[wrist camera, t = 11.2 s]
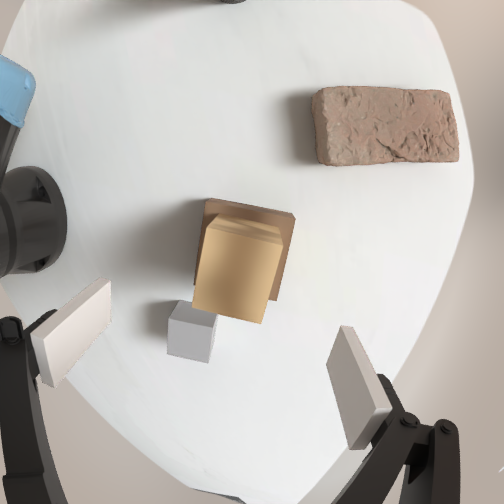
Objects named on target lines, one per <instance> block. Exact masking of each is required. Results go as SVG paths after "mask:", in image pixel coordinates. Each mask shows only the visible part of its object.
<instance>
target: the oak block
mask: <svg viewBox="0 0 504 504" xmlns="http://www.w3.org/2000/svg"><path fill="white" fill-rule="evenodd" d="M282 249H283V242H282V238H281V234H280V230H279V227H275V226H271V225H267V224H262V223H258V222H254V221H250V220H246V219H242V218H238V217H233V216H229V215H225V214H221V213H219V214H218V216H217V217H216V218H215V219H214V220H213V221H212V222H211V223H210V224H209V225H208V226H207V228H206V233H205V238H204V243H203V248H202V253H201V258H200V263H199V268H198V274H197V279H196V285H195V290H194V296H193V301H192V308H196V309H200V310H204V311H208V312H212V313H216V314H220V315H224V316H228V317H232V318H237V319H241V320H245V321H250V322H254V323H258V324H261V322H262V319H263V315H264V312H265V309H266V305H267V302H268V298H269V295H270V291H271V288H272V284H273V281H274V277H275V274H276V270H277V267H278V263H279V260H280V256H281V253H282Z"/></svg>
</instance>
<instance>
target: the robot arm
mask: <svg viewBox="0 0 504 504" xmlns="http://www.w3.org/2000/svg"><path fill="white" fill-rule="evenodd" d="M35 89H36V82H35V78H34V76H33V75H32V73H31V72H29V71H28V70H27V69H25V68H24V67H22V66H20V65H19V64H17V63H15V62H14V61H12V60H10V59H8V58H6V57H4V56H3V55H1V54H0V278H1V277H3V276H5V275H7V274H25V273H36V272H39V271H41V270H43V269H45V268H47V267H49V266H50V265H52V264H53V263H54V262H55V261H56V260H57V259H58V257H59V256H60V254H61V252H62V250H63V247H64V244H65V240H66V234H67V215H66V208H65V204H64V200H63V197H62V194H61V192H60V189H59V187H58V185H57V184H56V182H55V181H54V179H53V178H52V177H51V176H50V175H49V174H48V173H47V172H46V171H44V170H43V169H41V168H39V167H35V166H26V167H18V168H15V169H13V170H11V171H9V172H8V173H6V174H5V172H6V169H7V166H8V162H9V159H10V156H11V153H12V150H13V147H14V145H15V142H16V139H17V136H18V134H19V131H20V129H21V128H22V127H23V126H24V118H25V116H26V113H27V110H28V108H29V105H30V103H31V100H32V98H33V95H34V93H35ZM110 323H111V280H108V279H104V278H98V279H97V280H96V281H94V282H93V283H92V284H90V285H89V286H88V287H87V288H85V289H84V290H83V291H81V292H80V293H79V294H78V295H76V296H75V297H74V298H73V299H71V300H70V301H69V302H68V303H66V304H65V305H64V306H63V307H61V308H60V309H59V310H56V309H53V310H51V311H48V312H46V313H45V314H43V315H42V316H41V317H40V318H38V319H37V320H36V322H34V323H32V324H31V325H30V326H29V327H27V328H26V329H25V330H24V331H23V326H22V322H21V320H20V319H19V318H17V317H13V316H9V317H4V318H2V319H0V429H1V439H2V448H3V455H4V461H5V467H6V475H4V476H3V479H2V480H3V486H4V491H5V496H6V500H7V504H68V502H67V500H66V497H65V494H64V492H63V489H62V486H61V483H60V480H59V477H58V474H57V471H56V468H55V465H54V461H53V458H52V454H51V450H50V447H49V443H48V439H47V435H46V430H45V426H44V422H43V416H42V411H41V405H40V400H39V394H38V387H37V381H36V379H35V378H36V377H37V375H38V374H39V373H40V376H41V379H42V383H44V384H47V385H49V386H51V387H53V388H56V386H57V385H58V384H59V383H60V381H61V380H62V379H63V378H64V377H65V376H66V374H67V373H68V372H69V371H70V369H71V368H72V367H73V366H74V365H75V363H76V362H77V361H78V360H79V359H80V357H81V356H82V355H83V354H84V353H85V351H86V350H87V349H88V348H89V347H90V346H91V344H92V343H93V342H94V341H95V340H96V339H97V337H98V336H99V335H100V334H101V333H102V332H103V331H104V329H105V328H106V327H107V326H108V325H109V324H110ZM326 366H327V369H328V373H329V376H330V380H331V383H332V387H333V391H334V394H335V398H336V401H337V405H338V409H339V412H340V416H341V420H342V423H343V427H344V431H345V435H346V439H347V443H348V446H349V450H361V449H363V450H364V449H365V448H366V447H367V446H368V444H369V443H370V441H371V444H372V447H373V448H372V450H371V451H370V452H369V453H368V455H367V456H366V457H365V459H364V460H363V461H362V464H361V465H360V467H359V468H358V470H357V471H356V472H355V474H354V475H353V476H352V478H351V479H350V480H349V482H348V483H347V484H346V486H345V487H344V488H343V489H342V491H341V492H340V493H339V495H338V496H337V497H336V498H335V499H334V501H333V502H332V503H331V504H382V503H383V501H384V500H385V498H386V496H387V494H388V493H389V491H390V489H391V487H392V486H393V484H394V482H395V480H396V478H397V476H398V474H399V472H400V470H401V468H402V466H403V465H404V464H405V465H406V468H405V474H404V480H403V485H402V491H401V495H400V500H399V504H460V449H459V434H458V429H457V427H456V425H455V424H454V423H452V422H451V421H449V420H446V419H440V420H438V421H437V422H436V423H435V424H434V426H428V425H423V424H420V421H419V419H418V418H417V417H416V416H415V415H413V414H411V413H408V412H405V410H404V408H403V406H402V404H401V402H400V400H399V398H398V397H397V394H396V392H395V390H394V389H393V386H392V384H391V382H390V380H389V379H387V378H386V377H385V376H384V375H383V374H376V372H375V370H374V368H373V366H372V364H371V362H370V360H369V358H368V356H367V354H366V352H365V350H364V348H363V346H362V344H361V342H360V340H359V338H358V336H357V334H356V332H355V330H354V328H353V327H348V326H340V329H339V332H338V334H337V337H336V340H335V342H334V345H333V348H332V350H331V353H330V355H329V358H328V361H327V363H326Z"/></svg>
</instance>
